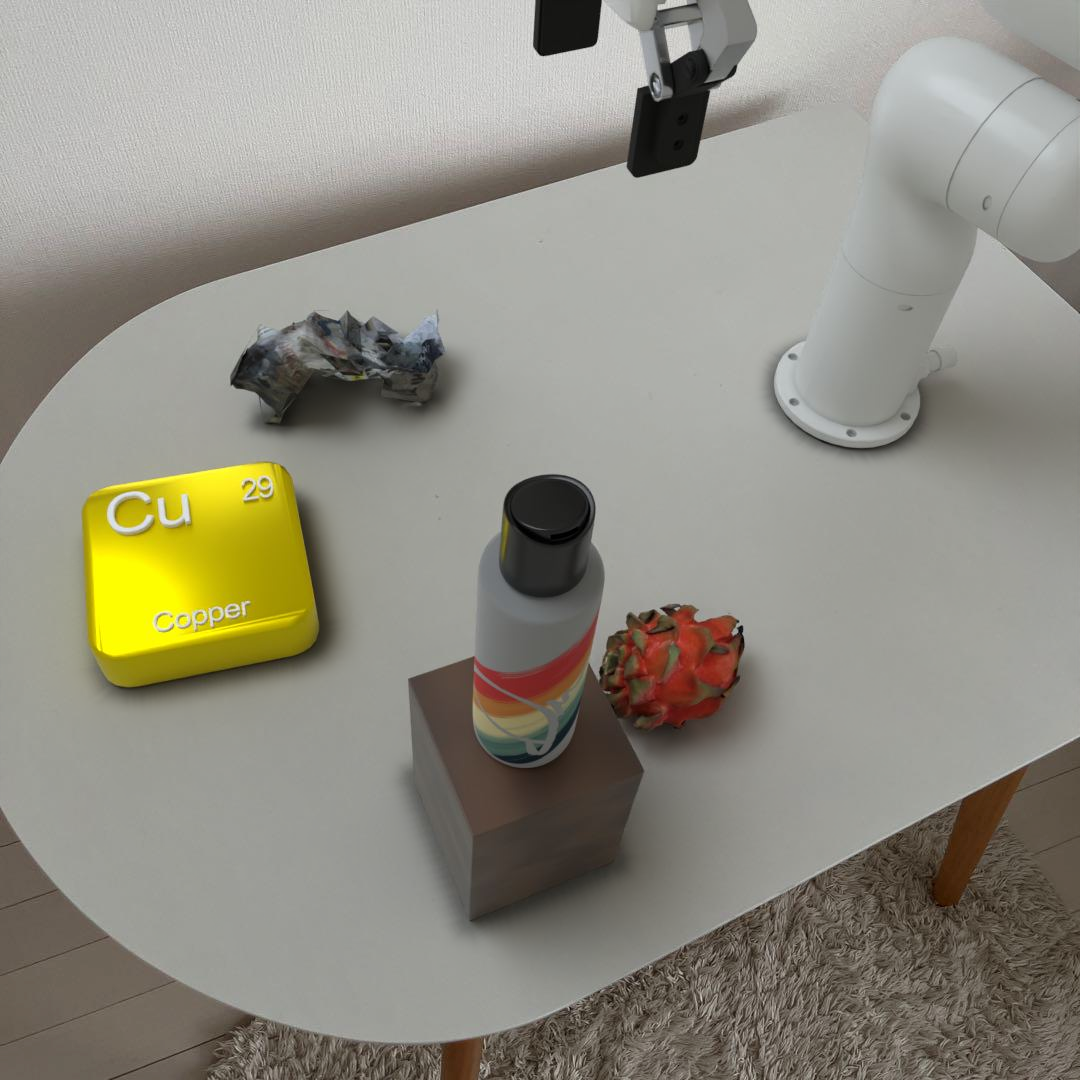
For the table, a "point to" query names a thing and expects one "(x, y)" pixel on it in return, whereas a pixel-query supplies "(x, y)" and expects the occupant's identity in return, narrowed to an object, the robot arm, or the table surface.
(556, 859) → the block
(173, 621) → the element tile
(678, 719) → the dragon fruit
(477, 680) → the lotion bottle
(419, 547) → the table surface
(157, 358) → the table surface
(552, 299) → the table surface
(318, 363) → the foil
